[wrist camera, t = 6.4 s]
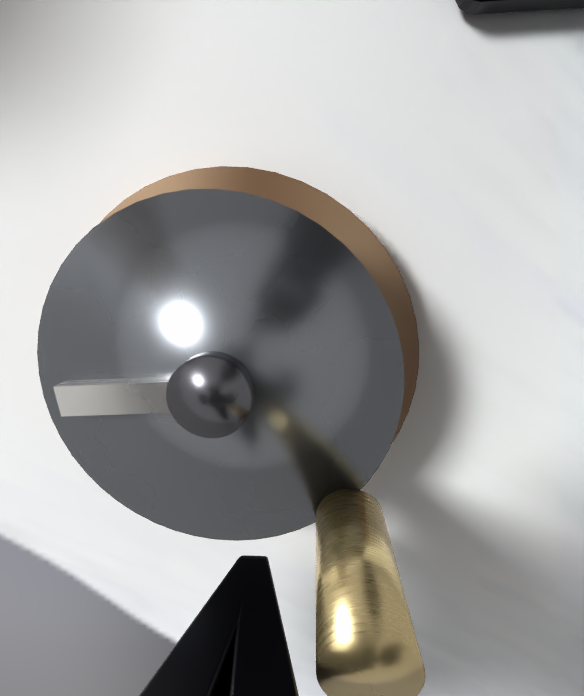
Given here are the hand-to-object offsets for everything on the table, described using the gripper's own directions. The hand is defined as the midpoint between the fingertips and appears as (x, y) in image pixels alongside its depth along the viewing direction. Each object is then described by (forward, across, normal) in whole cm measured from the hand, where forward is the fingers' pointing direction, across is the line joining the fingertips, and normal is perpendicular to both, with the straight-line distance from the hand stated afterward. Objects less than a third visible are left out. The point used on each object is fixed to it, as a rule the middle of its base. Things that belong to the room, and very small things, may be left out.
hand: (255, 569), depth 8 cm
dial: (+3, +1, -4) cm, 5 cm away
